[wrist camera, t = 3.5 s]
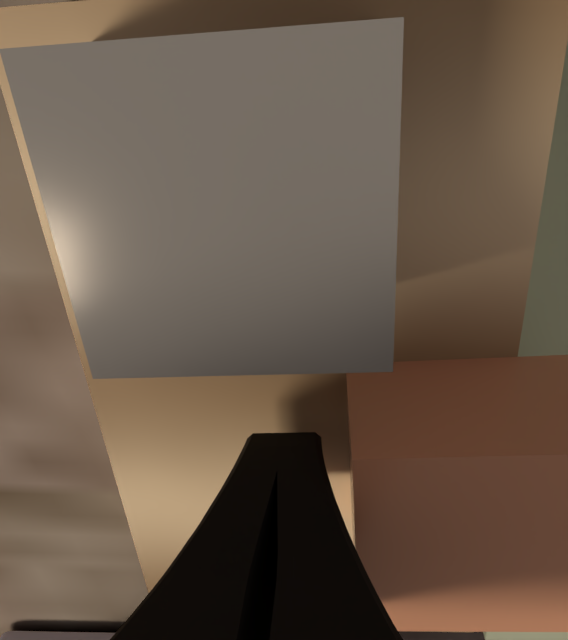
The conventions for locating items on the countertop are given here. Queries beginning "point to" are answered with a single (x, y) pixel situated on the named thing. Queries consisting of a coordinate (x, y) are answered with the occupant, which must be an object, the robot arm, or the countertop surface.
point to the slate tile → (222, 195)
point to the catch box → (549, 279)
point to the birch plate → (412, 233)
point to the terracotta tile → (463, 491)
